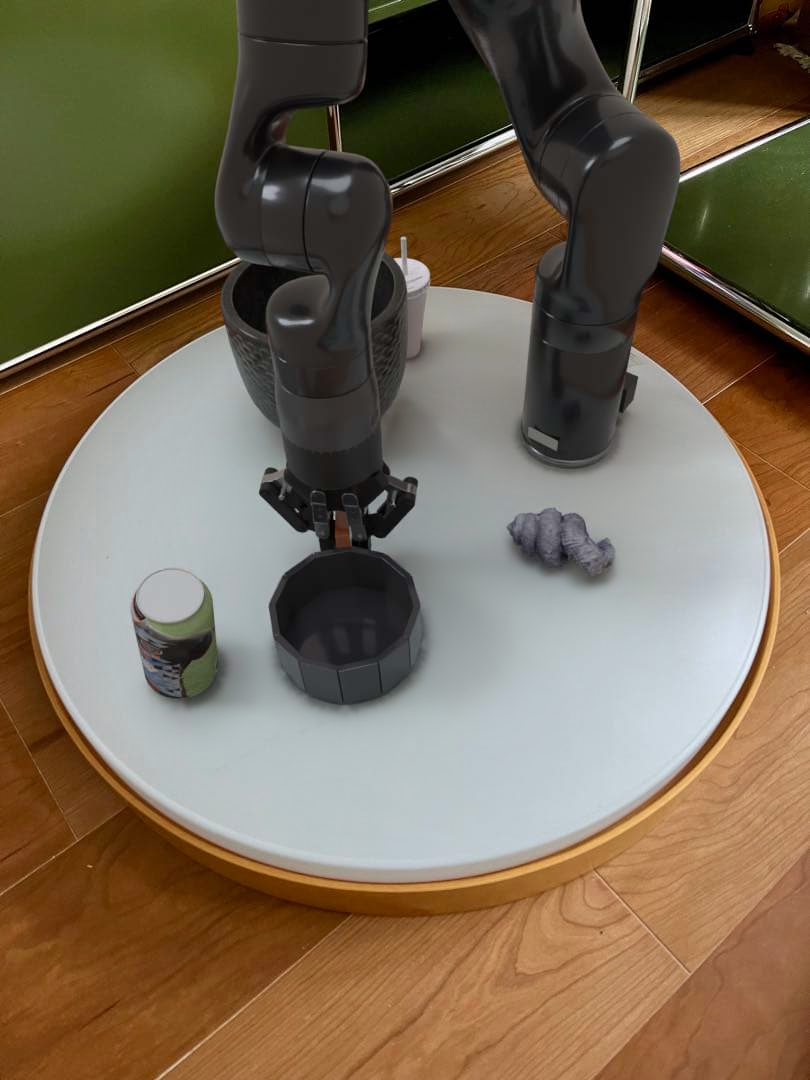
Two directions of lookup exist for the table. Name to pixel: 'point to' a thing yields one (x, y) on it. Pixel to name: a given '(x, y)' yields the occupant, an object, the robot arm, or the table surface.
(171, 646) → the beverage can
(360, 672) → the dark grey saucepan
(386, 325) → the planter
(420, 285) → the smoothie
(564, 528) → the seashell
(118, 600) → the table surface
